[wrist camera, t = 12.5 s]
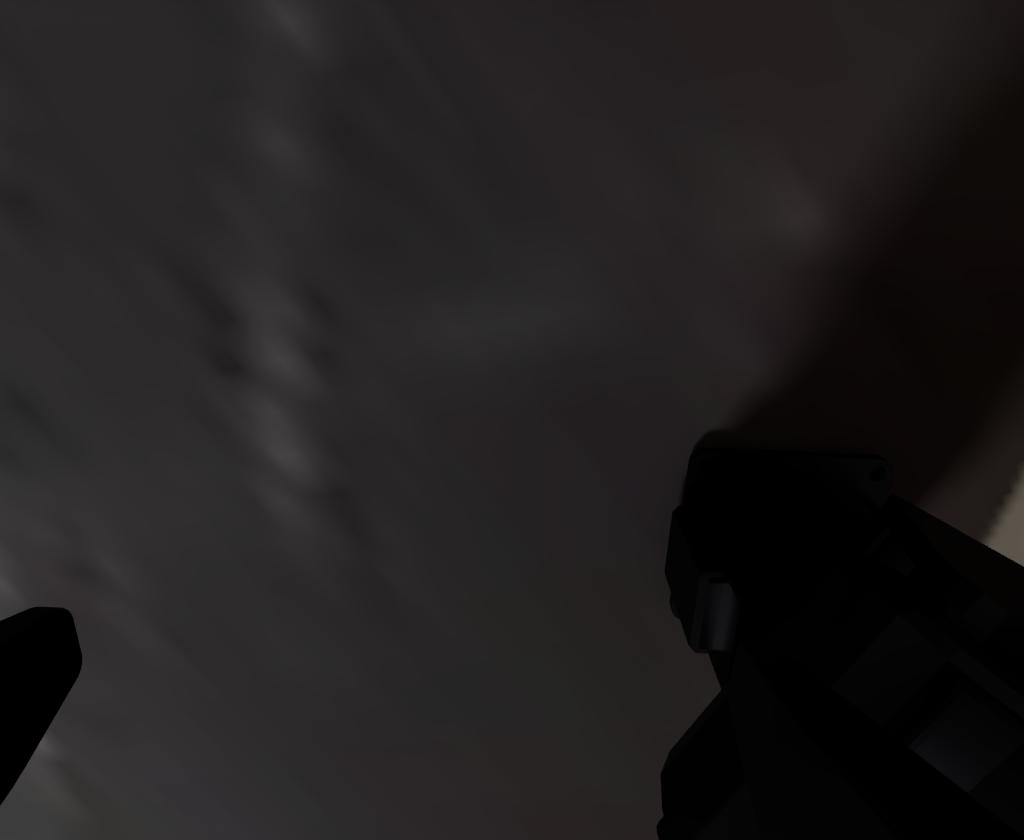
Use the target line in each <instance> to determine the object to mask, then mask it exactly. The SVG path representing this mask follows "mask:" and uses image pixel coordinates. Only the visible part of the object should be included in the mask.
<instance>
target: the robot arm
mask: <svg viewBox="0 0 1024 840" xmlns="http://www.w3.org/2000/svg"><path fill="white" fill-rule="evenodd" d="M705 459H710V460H712V463H711V465H710V466H709V467H707V468H699V465H700V463H701V462H702V461H703V460H705ZM875 467H880V470H879V472H878V473H877V474H876V475H873V476H870V472H871V471H872V470H873V469H874V468H875ZM893 475H894V468H893V466H892V464H890V463H889V462H888V461H887V460H885V459H884V458H883V457H881V456H878V455H866V454H843V453H821V452H798V451H775V450H753V449H730V448H707V447H706V448H700V449H698V450H696V451H694V452H693V454H692V455H691V456H690V459H689V464H688V471H687V478H686V485H685V493H684V500H683V506H678V507H677V508H676V509H675V510H674V511H673V512H672V519H671V527H670V535H669V542H668V550H667V557H666V565H665V576H666V579H667V582H668V585H669V588H670V591H671V595H670V607H671V610H672V613H673V614H674V616H675V617H677V618H678V619H680V621H681V624H682V627H683V630H684V633H685V636H686V639H687V642H688V645H689V646H690V647H691V648H692V649H693V650H694V651H695V653H708V654H709V657H710V660H711V663H712V665H713V668H714V671H715V673H716V676H717V679H718V682H719V684H720V687H721V691H720V692H719V693H718V695H717V696H716V697H715V698H714V699H713V701H712V702H711V703H710V704H709V705H708V707H707V708H706V709H705V710H704V711H703V712H702V714H701V715H700V716H699V717H698V718H697V720H696V721H695V722H694V723H693V724H692V725H691V727H690V728H689V729H688V730H687V731H686V733H685V734H684V735H683V736H682V737H681V738H680V740H679V741H678V742H677V743H676V744H675V746H674V747H673V748H672V749H671V750H670V752H669V754H668V757H667V759H666V762H665V764H664V767H663V769H662V772H661V793H662V810H663V814H664V816H663V817H662V819H661V820H660V821H659V822H658V824H657V834H658V837H659V840H1024V567H1023V566H1022V565H1020V564H1018V563H1016V562H1015V561H1013V560H1011V559H1009V558H1007V557H1006V556H1004V555H1002V554H1000V553H998V552H997V551H995V550H993V549H991V548H990V547H988V546H986V545H984V544H982V543H981V542H979V541H977V540H975V539H973V538H972V537H970V536H968V535H966V534H965V533H963V532H961V531H959V530H957V529H956V528H954V527H952V526H950V525H949V524H947V523H945V522H943V521H941V520H940V519H938V518H936V517H934V516H932V515H931V514H929V513H927V512H925V511H924V510H922V509H920V508H918V507H916V506H915V505H913V504H911V503H909V502H907V501H906V500H904V499H902V498H900V497H899V496H897V495H895V494H892V495H891V496H890V497H889V498H888V495H889V491H890V487H891V483H892V479H893ZM81 666H82V653H81V649H80V645H79V640H78V636H77V632H76V628H75V624H74V620H73V616H72V614H71V613H70V612H69V611H68V610H67V609H64V608H58V607H33V608H30V609H27V610H25V611H23V612H20V613H18V614H15V615H13V616H11V617H8V618H6V619H4V620H1V621H0V805H1V804H2V802H3V801H4V800H5V798H6V797H7V795H8V794H9V792H10V791H11V789H12V788H13V786H14V785H15V783H16V781H17V780H18V778H19V776H20V775H21V773H22V772H23V770H24V768H25V767H26V765H27V763H28V762H29V760H30V758H31V756H32V755H33V753H34V751H35V750H36V748H37V746H38V745H39V743H40V741H41V739H42V738H43V736H44V734H45V733H46V731H47V729H48V727H49V726H50V724H51V722H52V721H53V719H54V717H55V715H56V714H57V712H58V710H59V709H60V707H61V705H62V703H63V702H64V700H65V698H66V697H67V695H68V693H69V691H70V690H71V688H72V686H73V685H74V683H75V681H76V679H77V678H78V676H79V673H80V670H81Z"/></svg>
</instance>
